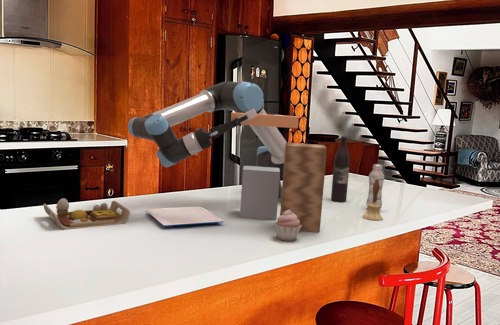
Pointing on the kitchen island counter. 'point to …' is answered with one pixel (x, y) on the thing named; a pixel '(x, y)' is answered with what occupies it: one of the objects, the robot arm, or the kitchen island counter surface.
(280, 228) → the cupcake
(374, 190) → the hand bell
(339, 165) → the wine bottle
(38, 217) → the kitchen island counter surface
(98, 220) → the toy food set
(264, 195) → the grey rectangular block
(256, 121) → the bar
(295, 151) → the tall wooden block
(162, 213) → the plate
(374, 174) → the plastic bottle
